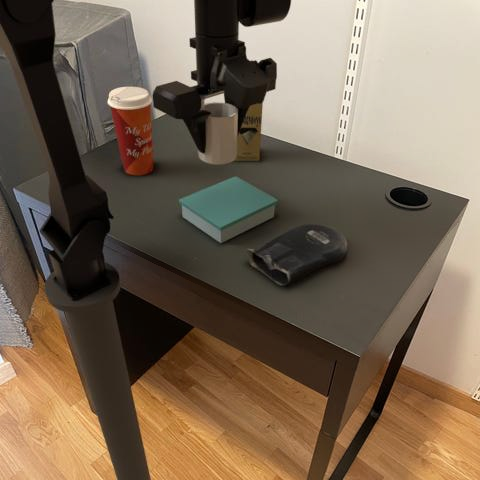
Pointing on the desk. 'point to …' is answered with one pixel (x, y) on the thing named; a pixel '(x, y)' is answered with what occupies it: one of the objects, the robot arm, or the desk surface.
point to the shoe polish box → (250, 135)
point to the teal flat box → (228, 208)
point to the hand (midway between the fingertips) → (217, 146)
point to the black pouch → (298, 252)
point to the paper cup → (133, 128)
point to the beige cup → (220, 134)
